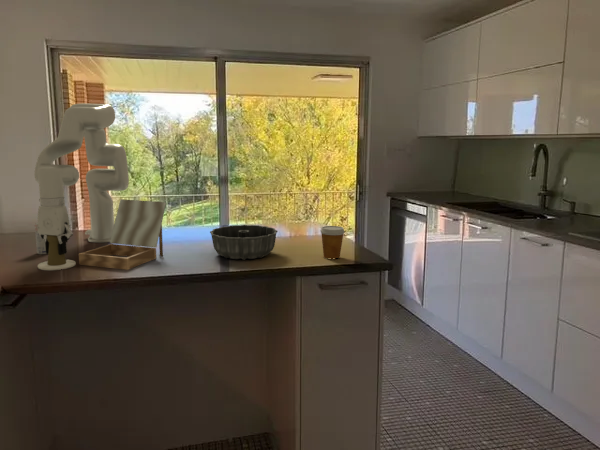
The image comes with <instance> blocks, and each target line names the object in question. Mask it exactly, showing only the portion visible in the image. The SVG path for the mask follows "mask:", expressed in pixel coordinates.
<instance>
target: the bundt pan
mask: <svg viewBox="0 0 600 450" xmlns="http://www.w3.org/2000/svg"><path fill="white" fill-rule="evenodd" d="M209 233H210V235H211V240H212V245H213V248H214V251H215V252H216V253H217V254H218V255H219V256H221V257H223V256H224V257H223V258H225V259H227V258H230V259H233V260H240V259H242V260H243V261H245V260H246V259H249V260H254V259H257V258H258V259H261V258H263V257H265V256H268V255H269V254H270V253H271V252H272V251H273V249H274V248H275V245H276V238H277V234H278V230H277V229H276V228H274V227H271V226H270V227H269V226H267V225H266V226H265V225H257V224H249V225H248V224H240V225H239V224H238V225H236V224H235V225H228V226H220V227H217V228H213V229H212V230H210V231H209Z"/></svg>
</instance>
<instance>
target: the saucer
mask: <svg viewBox="0 0 600 450" xmlns="http://www.w3.org/2000/svg"><path fill="white" fill-rule="evenodd" d="M47 263H48V260H47V261H44V262H40V263H38V264H37V269H38V270H39V271H40V270H41V271H59V270H61V269H62V270H67V269H71V268H73V267H75V266H76V260H72V259H66V264H63V265H55V266H52V265H48V264H47ZM62 270H61V271H62Z"/></svg>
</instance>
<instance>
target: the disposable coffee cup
mask: <svg viewBox="0 0 600 450" xmlns="http://www.w3.org/2000/svg"><path fill="white" fill-rule="evenodd" d="M320 228H321V229H320V234H321V242H322V254H323V258H324V257H325V258H331V259H333V258H339V257H340V258H341V252H342V251H341V250H342V245H343V240H344V239H343V238H344V234H345V230H344V227H343V226H337V225H326V226H325V225H324V226H321V227H320ZM325 258H324V259H325ZM340 258H339V259H340ZM331 259H330V260H331Z"/></svg>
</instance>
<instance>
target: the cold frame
mask: <svg viewBox="0 0 600 450" xmlns="http://www.w3.org/2000/svg"><path fill="white" fill-rule="evenodd" d="M118 204H119V205H118V208H117V212H116V215H115V219H114V228H113V232H112V236H111V241H110V242H109V244H106V245H103V246H99V247H96V248H93V249H90V250H87V251H83V252H79V253H78V265H80V266H81V265H82V266H90V267H99V268H107V269H108V268H110V269H118V270H119V269H120V270H126V271H129V270H131V269H134V268H136V267H138V266H141V265H143V264H146V263H148V262H150V261H154V260H156V259H157V247H158V246H159V247H158V248H159V256H161V257H163V256H164V254H163V253H164V249H163V248H164V247H163V246H164V245H163V243H164V242H163V220H164V215H165V209H166V205H167V202H166V201H154V200H152V201H151V200H140V199H139V200H138V199H137V200H136V199H123V198H122V199H120V200H119V203H118ZM158 244H159V245H158Z"/></svg>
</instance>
